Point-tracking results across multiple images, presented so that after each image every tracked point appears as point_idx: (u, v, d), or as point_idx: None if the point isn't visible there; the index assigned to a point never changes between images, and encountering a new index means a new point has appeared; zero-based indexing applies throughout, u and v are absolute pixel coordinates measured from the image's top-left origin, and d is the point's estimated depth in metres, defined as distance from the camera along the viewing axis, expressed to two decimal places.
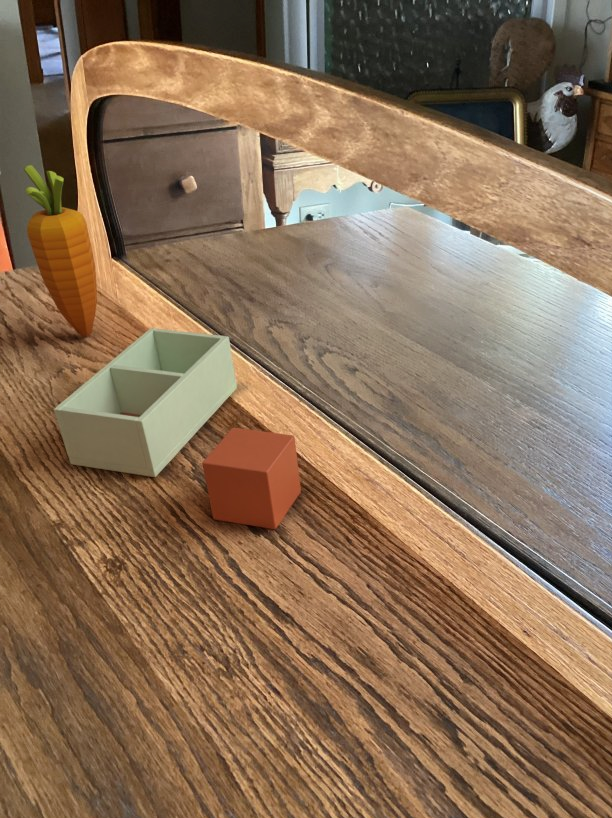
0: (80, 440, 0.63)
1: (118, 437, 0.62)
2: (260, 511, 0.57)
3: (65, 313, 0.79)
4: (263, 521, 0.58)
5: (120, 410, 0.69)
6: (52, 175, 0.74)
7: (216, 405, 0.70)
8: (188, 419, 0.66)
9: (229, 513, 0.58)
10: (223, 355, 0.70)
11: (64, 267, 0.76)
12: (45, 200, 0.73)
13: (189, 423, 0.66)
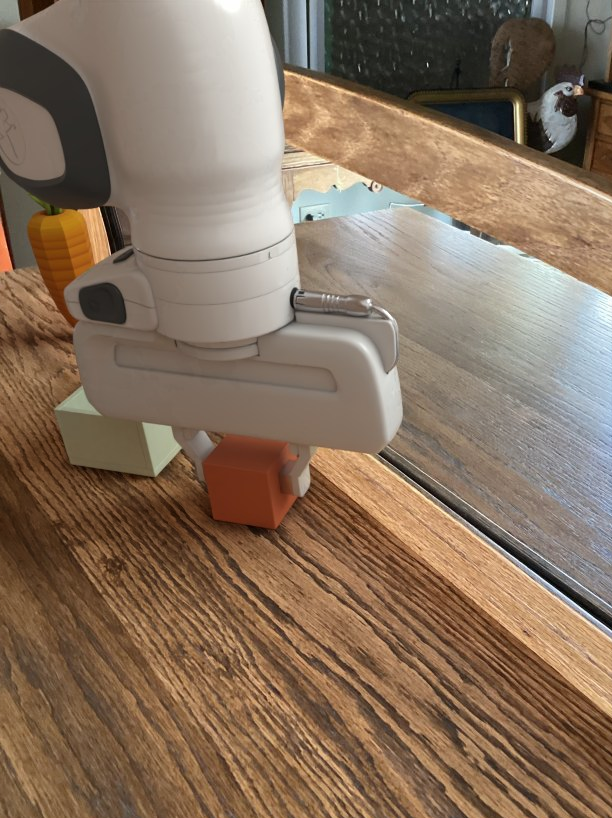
0: (80, 440, 0.63)
1: (118, 437, 0.62)
2: (260, 511, 0.57)
3: (65, 313, 0.79)
4: (263, 521, 0.58)
5: None
6: None
7: None
8: None
9: (229, 513, 0.58)
10: None
11: (64, 267, 0.76)
12: None
13: None
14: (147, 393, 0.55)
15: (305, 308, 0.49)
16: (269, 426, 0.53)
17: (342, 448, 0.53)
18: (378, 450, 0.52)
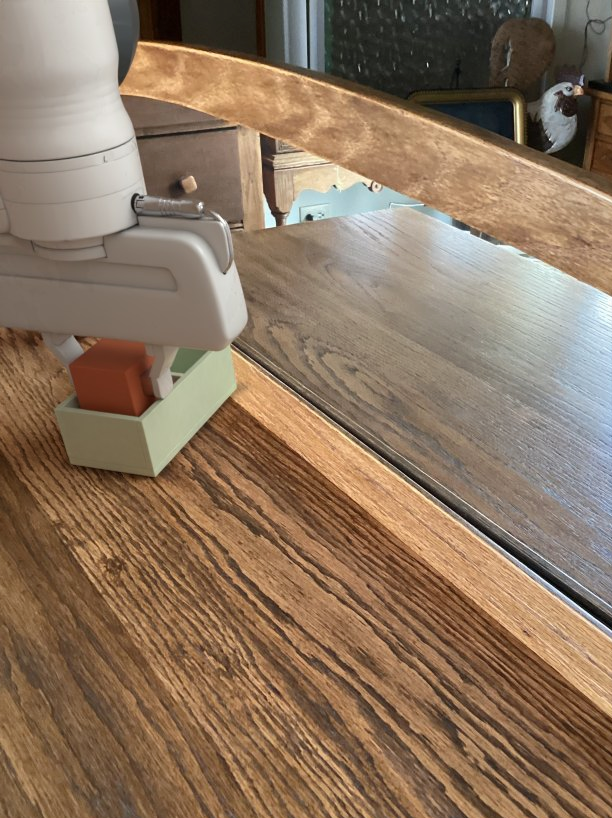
0: (80, 440, 0.63)
1: (118, 437, 0.62)
2: (124, 411, 0.62)
3: None
4: None
5: None
6: None
7: (216, 405, 0.70)
8: (188, 419, 0.66)
9: None
10: (223, 355, 0.70)
11: None
12: None
13: (189, 423, 0.66)
14: (14, 298, 0.59)
15: (145, 212, 0.54)
16: (123, 327, 0.58)
17: (189, 346, 0.58)
18: (220, 347, 0.57)
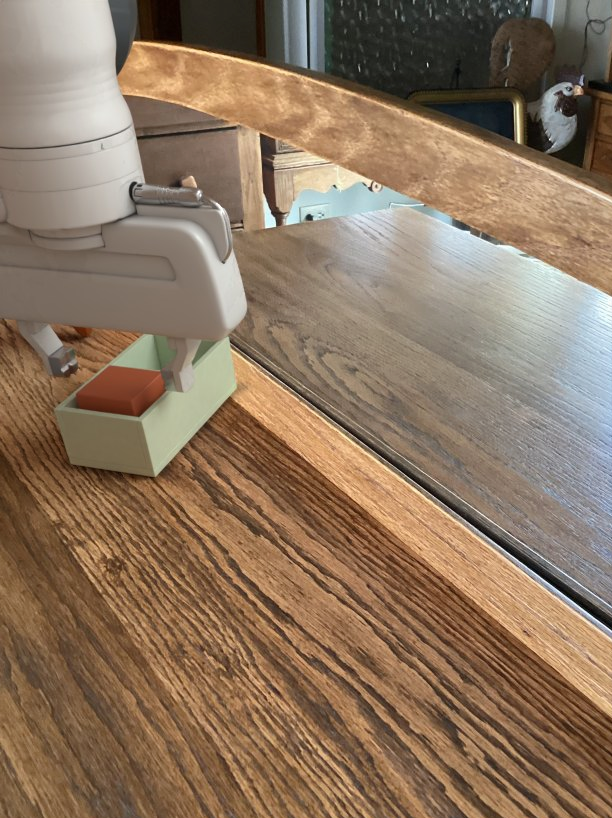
0: (80, 440, 0.63)
1: (118, 437, 0.62)
2: None
3: None
4: None
5: None
6: None
7: (216, 405, 0.70)
8: (188, 419, 0.66)
9: None
10: (223, 355, 0.70)
11: None
12: None
13: (189, 423, 0.66)
14: (12, 289, 0.59)
15: (143, 200, 0.54)
16: (122, 317, 0.58)
17: (188, 336, 0.57)
18: (220, 337, 0.57)
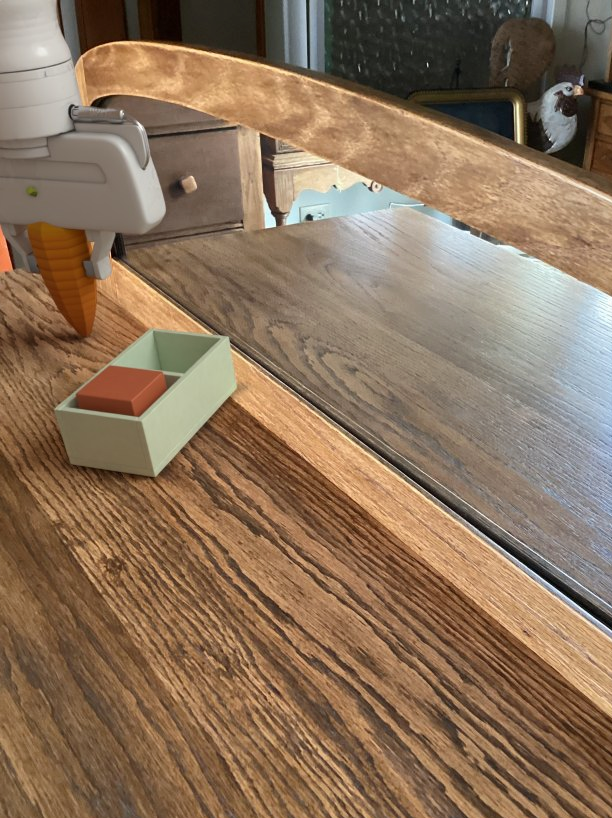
0: (80, 440, 0.63)
1: (118, 437, 0.62)
2: None
3: (65, 313, 0.79)
4: None
5: None
6: None
7: (216, 405, 0.70)
8: (188, 419, 0.66)
9: None
10: (223, 355, 0.70)
11: (65, 268, 0.76)
12: None
13: (189, 423, 0.66)
14: None
15: (79, 118, 0.69)
16: (66, 215, 0.73)
17: (117, 230, 0.72)
18: (142, 230, 0.72)
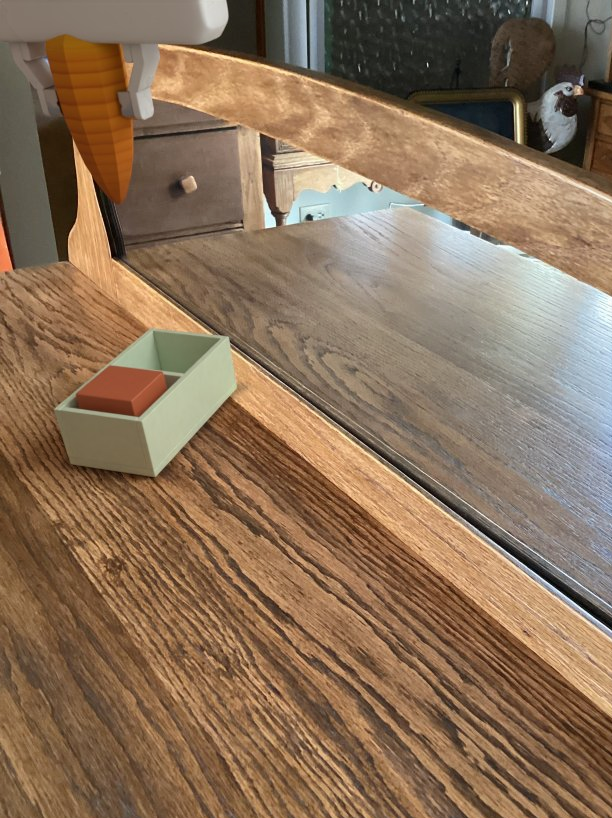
0: (80, 440, 0.63)
1: (118, 437, 0.62)
2: None
3: (94, 168, 0.61)
4: None
5: None
6: None
7: (216, 405, 0.70)
8: (188, 419, 0.66)
9: None
10: (223, 355, 0.70)
11: (94, 100, 0.58)
12: None
13: (189, 423, 0.66)
14: None
15: None
16: (97, 22, 0.55)
17: (166, 39, 0.55)
18: (199, 37, 0.54)
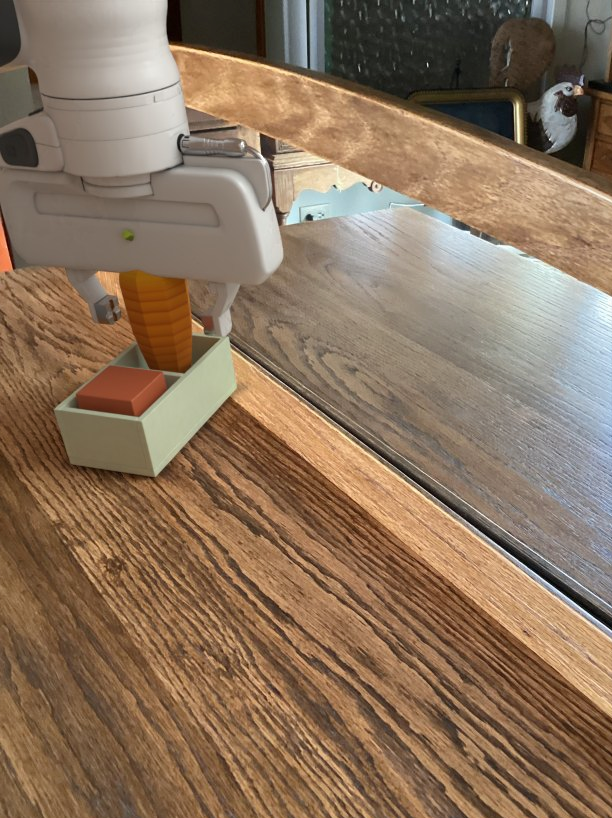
0: (80, 440, 0.63)
1: (118, 437, 0.62)
2: None
3: None
4: None
5: None
6: None
7: (216, 405, 0.70)
8: (188, 419, 0.66)
9: None
10: (223, 355, 0.70)
11: (161, 322, 0.65)
12: None
13: (189, 423, 0.66)
14: (64, 237, 0.63)
15: (190, 151, 0.58)
16: (167, 263, 0.62)
17: (229, 280, 0.61)
18: (259, 281, 0.61)
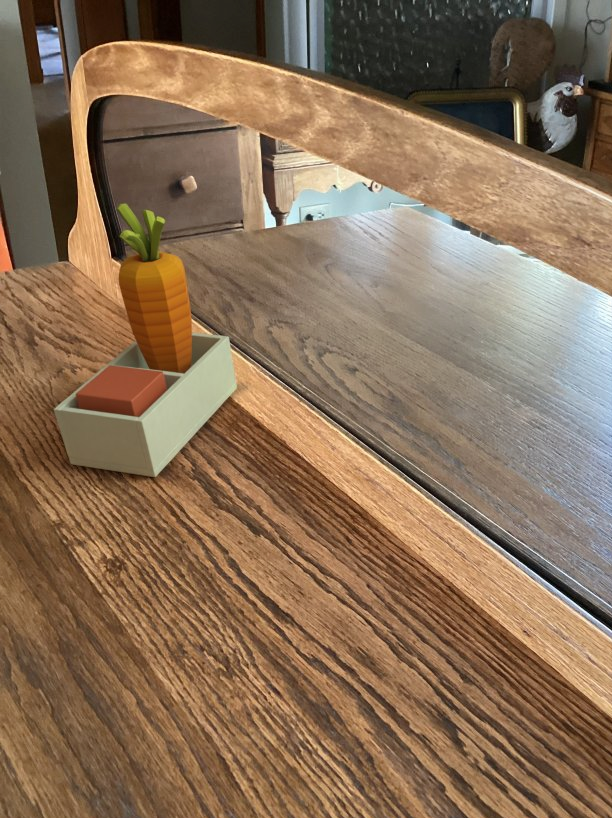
0: (80, 440, 0.63)
1: (118, 437, 0.62)
2: None
3: None
4: None
5: None
6: (149, 215, 0.63)
7: (216, 405, 0.70)
8: (188, 419, 0.66)
9: None
10: (223, 355, 0.70)
11: (161, 322, 0.65)
12: (142, 245, 0.62)
13: (189, 423, 0.66)
14: None
15: None
16: None
17: None
18: None
